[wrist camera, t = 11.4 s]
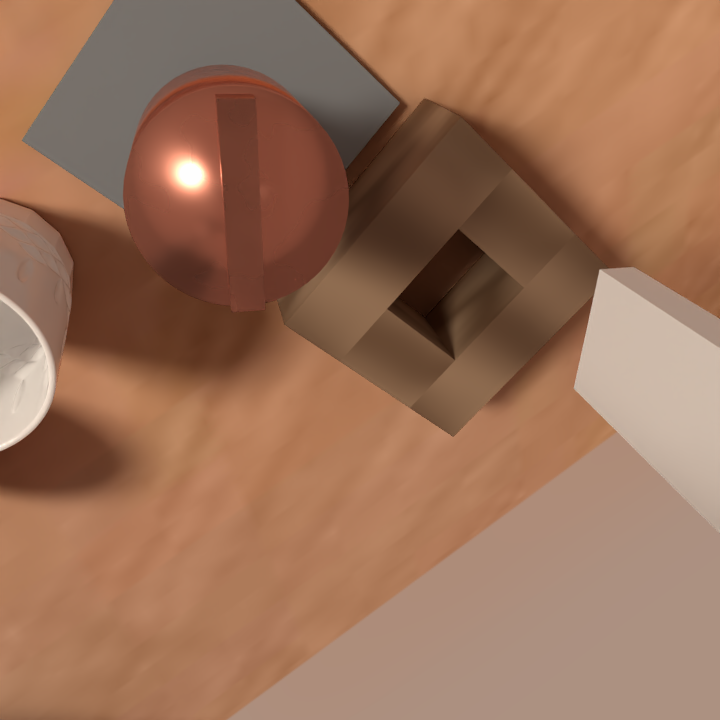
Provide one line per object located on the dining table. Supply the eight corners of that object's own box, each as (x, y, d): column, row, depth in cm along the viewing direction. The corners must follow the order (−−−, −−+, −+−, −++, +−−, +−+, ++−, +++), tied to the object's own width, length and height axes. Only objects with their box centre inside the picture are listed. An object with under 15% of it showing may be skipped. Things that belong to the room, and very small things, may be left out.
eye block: (425, 389, 41) (453, 436, 37) (271, 282, 35) (284, 324, 31) (566, 240, 38) (614, 274, 34) (424, 98, 32) (461, 116, 28)
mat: (245, 286, 35) (246, 291, 34) (24, 137, 29) (21, 140, 29) (396, 101, 32) (399, 102, 32) (184, -106, 26) (185, -108, 26)
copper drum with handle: (134, 42, 28) (102, 90, 16) (286, 44, 29) (358, 90, 18) (153, 194, 31) (138, 324, 19) (289, 189, 32) (352, 309, 21)
